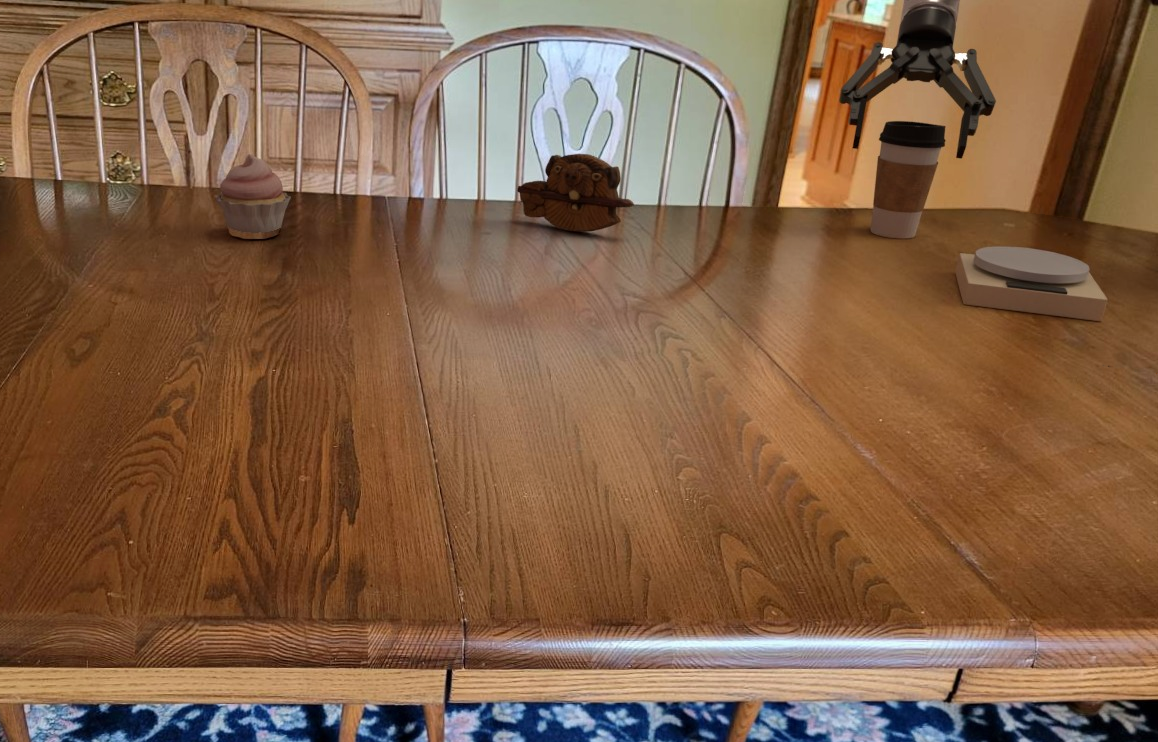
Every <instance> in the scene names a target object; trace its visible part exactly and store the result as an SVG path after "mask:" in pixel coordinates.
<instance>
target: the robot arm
mask: <svg viewBox="0 0 1158 742" xmlns="http://www.w3.org/2000/svg"><path fill="white" fill-rule="evenodd" d="M960 2H961V0H903V5H902V11H901V15H900V24H899V29H898V35H897V40H896V45H895V46H894V47H893V48H891V47H890V48H889V47H883V43H882V42H880V41H876V42H874V44H873V46H872V49H871V52H870V54H869V55H868V56H867V58H866V59H865V60H864V61H863V62H862V63H861V65H860V66H859V67H858V68H857V69H856V71H855V72H853V74H852V75H851V76H850V77H849V78H848V80H847V81H846V82H845V83H844V84H843V86H842V87H841V89H840V94H839V99H838V102H839V103H840V104H842V105H846V104H847V105H849V106H850V112H849V116H848V125H849V126H855V132H854V136H853V137H854V138H853V142H852V149H854V150H856V149H857V150H859V146H860V142H861V141H860V140H861V137H862V136H861V135H862V131H863V126H864V125H863V124H864V120H865V119H864V118H865V112H866V108H867V103H868V102H869V101H871V100H872V99H873V98H875V97H877V96H878V95H879V94H880V93H882V92H883V91H885V90H886V89H887V88H889V87H890V86H891V85H895V84H897V83H898V82H899V81H901V80H902V79H905V80H906V81H907V82H916V81H919V82H922V83H931V81H933V82H934V83H935V84H936V85H937V86H938V87H939V89H940V88H942V89H943V90H944V91H945V92H946V94H948V96H949V97H950V98H951V99H952V100H953V102H955V104H956V105H957V106H958V107H959V108H960V109H961V110H962V112H963V114H962V116H961V121H960V127H959V135H958V142H957V147H956V148H957V149H956V155H955V159H963V156H964V154H965V151H966V149H967V143H968V137H970V136H971V137H974V136H975V134H976V132H977V130H978V126H979V121H980V117H981V116H984V117H989V116H991V115H992V113H993V111H994V109H995V105H996V102H997V99H996V97H995V96H994V93H993V92H992V89H991V88H990V86H989V84H988V81H987V80H986V77H985V75H984V74H983V72H982V70H981V67H980V66H979V64H978V61H977V59H978V55H977V50H976V49H975V48H970V49H968V50H967V52H965V53H964V52H963V53H962V52H961V53H960V52H959V53H956V52H955V50H954V43H955V36H956V35H955V34H956V30H957V22H958V16H959V9H960ZM886 60H890V62H891V64H890V65H889V67H887V68H886V69H885V70H883V71H882V72H880V73H879V74H877V75H876V76H875V77H874V78H871V80H869V81H868V82H866V81H867V80H868V79H869V78H870V77H871V76H872V75H873V73H874V72H876V70H877V68H878V66H881V65H882V64H883V63H884V62H886ZM954 64H955V65H957V66H958V69H959V71H960V72H963V76H964V78H965V81H966V83H967V84H965V83H964V81H963V80H962V79H961V78H960V76H958V75H957V73H955V71H954V67H953V65H954ZM865 82H866V83H865ZM967 85H968V86H967Z"/></svg>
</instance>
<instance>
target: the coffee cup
mask: <svg viewBox="0 0 1158 742" xmlns="http://www.w3.org/2000/svg"><path fill="white" fill-rule="evenodd" d="M946 128H947V127H946V125H940V124H933V123H928V122H919V121H908V120H907V121H906V120H891V121H886V122H885V123H884V126H883V128H882V132H880V134H879V138H878V141H879V142H880V148H879V149H880V150H879V155H878V156H877V163H876V171H875V173H876V174H875V182H874V192H873V203H872V205H873V207H872V214H871V221H870V232H871V234H874V235H876V236H879V237H883V238H889V239H899V240H901V239H903V240H905V239H912V238H913V239H914V238H915V236H916V234H917V232H918V227H919V224H920V221H921V218H922V213H923V211H924V209H925V207H926V206H925V205H926V202H927V200H928V196H929V194H930V190H931V187H932V184H933V181H934V177H935V174H936V171H937V168H938V166H939V161H938V160H939V157H940V153H941V150H942V148H944V147H946V139H945V134H946Z"/></svg>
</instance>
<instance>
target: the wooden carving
mask: <svg viewBox="0 0 1158 742" xmlns="http://www.w3.org/2000/svg"><path fill="white" fill-rule="evenodd" d="M544 171H545V175H546V177H547V178H546V181H545V180H533V181H528V182H527V181H526V182H524V183H523V184H521V185H518V186H517V191H516V192H517V193H519V199H520V201H521V202H522V210H523V214H524V216H525V217H528V218H544V220H545V221H547V222H548V223H549V224H551V225H552V226H554V227H557V228H559V229H561V230H564V231H570V232H594V231H595V232H596V231H600V230H604V229H607V228H610V227H613V226H616V225H617V224H620V223H621V221H622V219H621V218H620V217H619V216H618V214H617V208H631V207H633V206H634V205H635V203H634V202H633V200H631V199H629V198H621V197H620V195H619V191H618V187H619V185H620V184H621V181H622V179H621V171H620V168H619V166H612V165H610V164H609V163H608V162H606V161H605V160H604V159H602V158H599V157H598V156H595V155H592V154H588V153H575V154H567V155H560V154H555V155H551V156H550V157H549V159H548V162H547V164H546V166H545V169H544Z"/></svg>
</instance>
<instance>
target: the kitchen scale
mask: <svg viewBox="0 0 1158 742" xmlns="http://www.w3.org/2000/svg"><path fill="white" fill-rule="evenodd" d="M1090 269H1091V268H1090V266H1089V265H1088V264H1087V263H1086V262H1084V261H1082V260H1080V259H1077V258H1075V257H1073V256H1068V255H1066V254H1063V253H1062V254H1061V253H1057V252H1055V251H1048V250H1043V249H1037V248H1031V247H1022V246H1020V247H1019V246H1005V245H1003V246H1002V245H1001V246H1000V245H999V246H987V247H986V246H985V247H981V248H978V249H977V250H975V252H974V254H971V253H963V252H960V253H959V255H958V258H957V263H956V267H955V270H954V271H955V272H954V273H955V277H956V282H957V285H958V289H959V292H960V296H961V300H962V304H963V305H965V306H972V307H980V308H981V307H982V308H990V309H996V310H997V309H998V310H1004V311H1005V310H1006V311H1013V312H1014V311H1015V312H1020V313H1021V312H1023V313H1028V314H1029V313H1030V314H1037V315H1046V316H1054V317H1062V318H1070V319H1079V320H1085V321H1094V322H1102V320H1103V318H1104V314H1105V311H1106V308H1107V304H1108V301H1109V299H1108V298H1107V296H1106V294H1105V293H1104V292H1103V290H1102V289H1101V287H1100V286H1099V284H1098V283H1097V282H1096V280H1095V279H1094V277H1093V276H1092V274H1091V272H1090Z"/></svg>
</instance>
